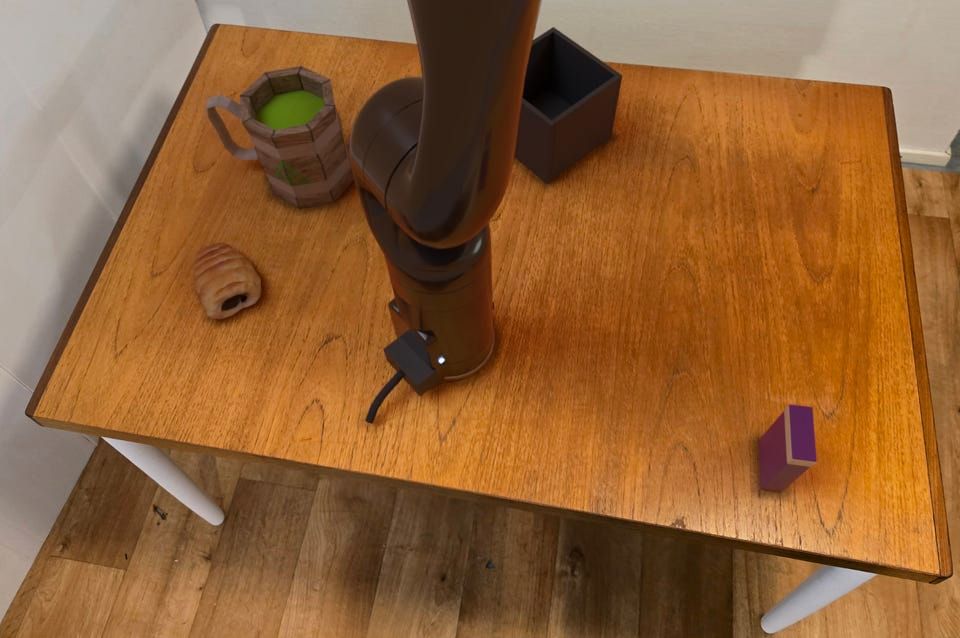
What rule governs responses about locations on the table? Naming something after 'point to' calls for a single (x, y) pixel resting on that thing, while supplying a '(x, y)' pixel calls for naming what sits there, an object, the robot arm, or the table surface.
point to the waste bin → (564, 105)
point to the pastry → (224, 280)
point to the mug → (291, 135)
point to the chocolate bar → (787, 448)
